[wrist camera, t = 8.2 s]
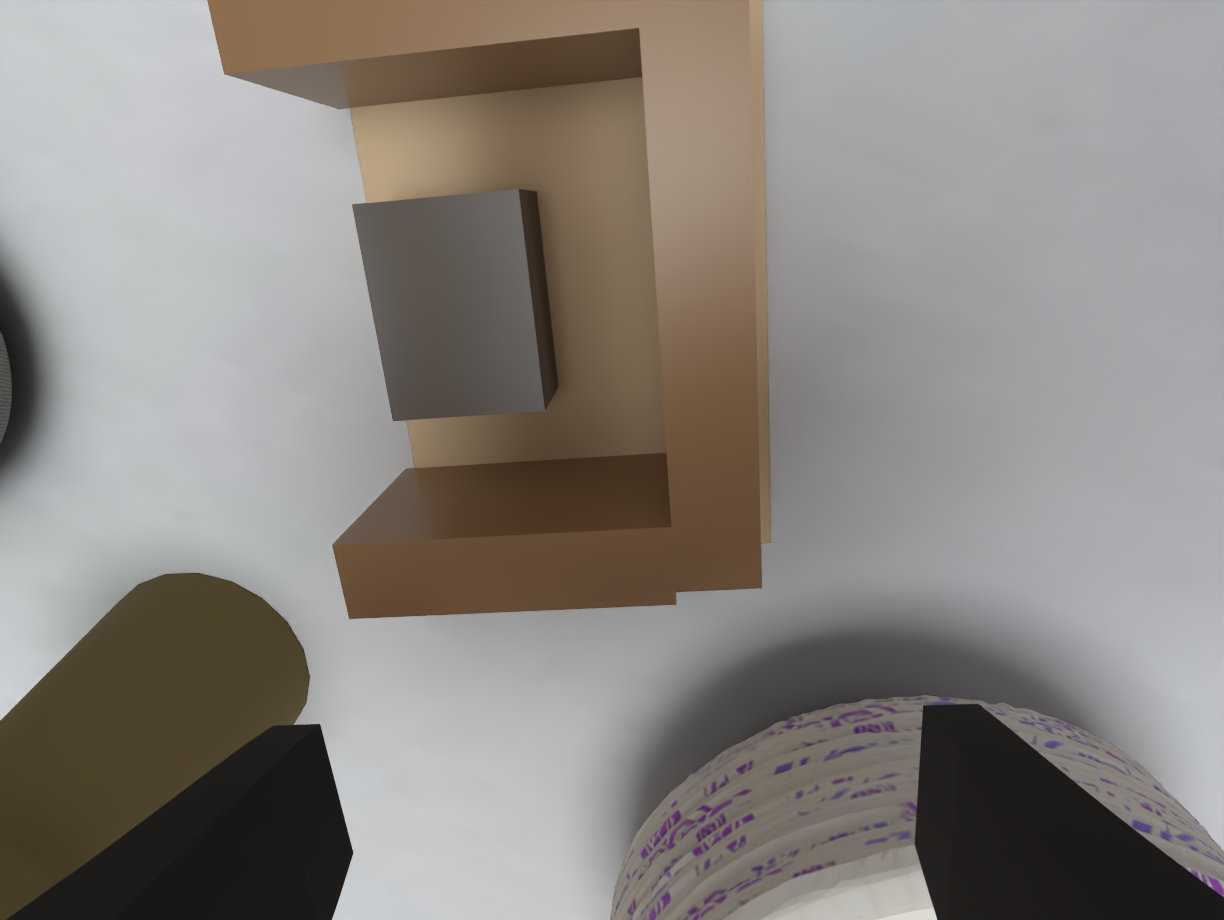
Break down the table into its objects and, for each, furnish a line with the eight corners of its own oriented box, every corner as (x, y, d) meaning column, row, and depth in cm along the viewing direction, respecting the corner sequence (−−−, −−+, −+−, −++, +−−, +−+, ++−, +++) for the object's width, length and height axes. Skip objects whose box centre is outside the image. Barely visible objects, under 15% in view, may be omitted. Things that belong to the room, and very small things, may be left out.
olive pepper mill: (63, 628, 21) (-507, 1032, 11) (218, 537, 20) (-262, 896, 10) (199, 777, 23) (-188, 1256, 12) (350, 701, 21) (61, 1164, 11)
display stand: (747, -38, 15) (778, -121, 11) (760, 508, 19) (785, 585, 15) (366, 7, 15) (272, -57, 12) (454, 525, 19) (404, 602, 16)
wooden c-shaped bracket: (417, 528, 17) (349, 618, 13) (322, 22, 14) (196, -48, 10) (738, 511, 17) (762, 600, 13) (721, -24, 13) (746, -117, 9)
